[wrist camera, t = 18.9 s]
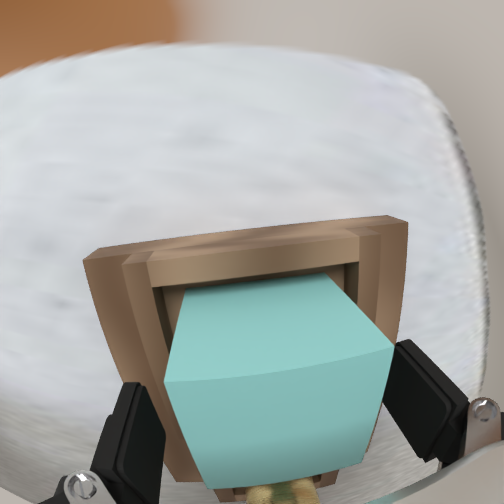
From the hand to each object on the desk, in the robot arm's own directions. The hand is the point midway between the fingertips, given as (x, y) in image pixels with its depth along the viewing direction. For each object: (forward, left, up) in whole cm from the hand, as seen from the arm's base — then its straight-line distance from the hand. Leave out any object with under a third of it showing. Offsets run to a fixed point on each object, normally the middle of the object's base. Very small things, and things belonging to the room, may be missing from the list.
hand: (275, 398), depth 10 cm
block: (0, 0, -4) cm, 4 cm away
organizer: (0, -4, -6) cm, 7 cm away
